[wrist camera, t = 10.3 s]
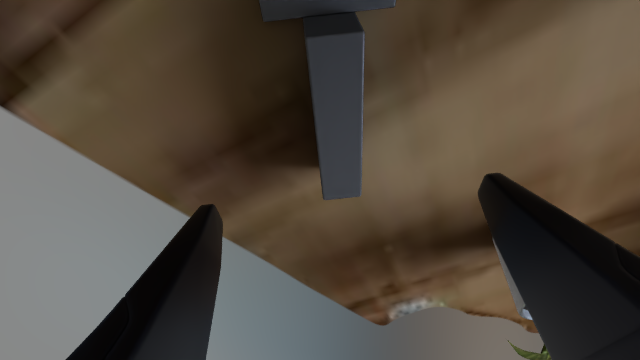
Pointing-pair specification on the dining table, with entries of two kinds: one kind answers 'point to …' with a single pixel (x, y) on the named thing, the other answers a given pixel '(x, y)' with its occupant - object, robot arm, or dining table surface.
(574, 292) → the robot arm
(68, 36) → the dining table surface
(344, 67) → the spatula
